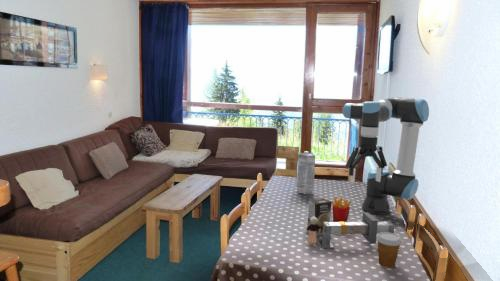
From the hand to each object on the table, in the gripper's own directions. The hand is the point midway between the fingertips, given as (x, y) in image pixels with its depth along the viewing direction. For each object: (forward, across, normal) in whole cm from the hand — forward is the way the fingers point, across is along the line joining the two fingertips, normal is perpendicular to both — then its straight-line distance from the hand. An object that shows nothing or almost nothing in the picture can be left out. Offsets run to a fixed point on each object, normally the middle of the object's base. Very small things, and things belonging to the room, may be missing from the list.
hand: (365, 181), depth 182 cm
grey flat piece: (+24, +1, +7) cm, 25 cm away
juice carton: (+27, -5, -73) cm, 78 cm away
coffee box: (+28, +17, -10) cm, 34 cm away
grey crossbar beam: (+27, +6, +6) cm, 28 cm away
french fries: (+27, +1, -16) cm, 32 cm away
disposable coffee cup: (+28, +4, +26) cm, 38 cm away
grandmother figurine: (+28, +25, 0) cm, 37 cm away
